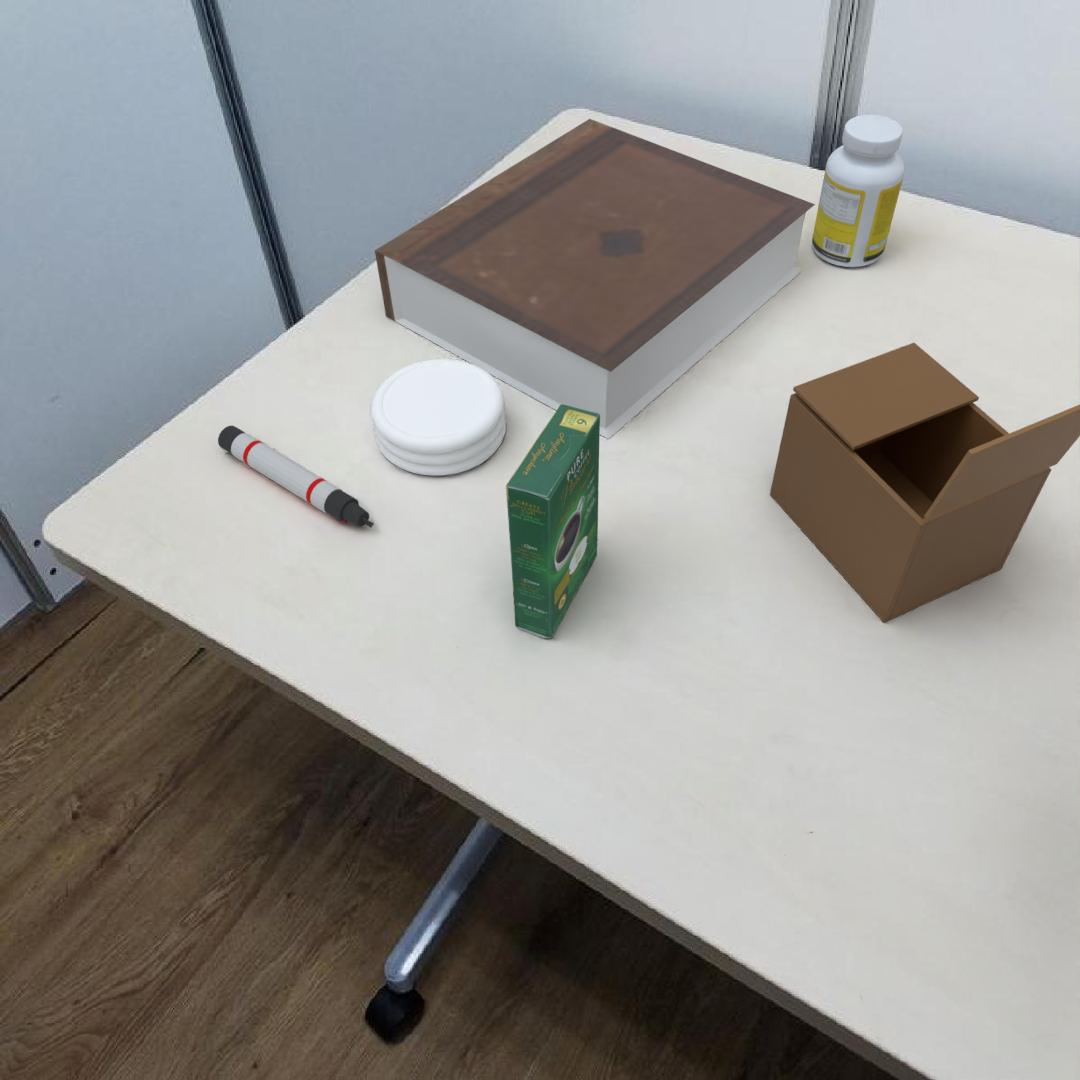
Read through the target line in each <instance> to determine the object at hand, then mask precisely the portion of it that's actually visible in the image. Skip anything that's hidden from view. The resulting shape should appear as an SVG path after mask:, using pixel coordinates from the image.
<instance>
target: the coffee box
mask: <svg viewBox="0 0 1080 1080" xmlns="http://www.w3.org/2000/svg"><path fill="white" fill-rule="evenodd" d="M599 433H600V414H598V413H594V412H590V411H586V410H582V409H578V408H575V407H571V406H567V405H563V404H561V405H560V406H559V407H558V409H557V410H555V411H554V413H553V414H552V416H551V418H550V419H549V420H548V422H547V424H546V425H545V427H544V428H543V429H542V431H541V433H540V434H539V436H538V437H537V438H536V440H535V441H534V443H533V444H532V446H531V448H530V449H529V450H528V452H527V453H526V455H525V456H524V458H523V459H522V461H521V462H520V464H519V465H518V467H517V468H516V469H515V471H514V473H513V475H512V476H511V477H510V479H509V481H508V482H507V483H506V485H505V491H506V493H505V494H506V505H507V518H508V533H509V534H508V535H509V548H510V565H511V578H512V597H513V612H514V626H515V628H517V629H519V630H520V631H524V632H526V633H530V634H531V635H533V636H537V637H539V638H543V639H552V638H553V636H554V634H555V632H556V631H557V628H558V627H559V625H560V624H561V622H562V621H563V619H564V617H565V615H566V612H567V611H568V609H569V607H570V604H571V603H572V601H573V599H574V598H575V596H576V594H577V593H578V590H579V589H580V587H581V586H582V584H583V581H584V579H586V577H587V575H588V572H589V571H590V569H591V567H592V565H593V564H594V561H595V559H596V558H597V556H598V540H599V539H598V534H599V533H598V532H599V530H598V529H599V486H600V484H599V481H600V480H599V479H600V477H599V476H600V474H599V473H600V434H599Z"/></svg>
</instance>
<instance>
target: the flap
mask: <svg viewBox="0 0 1080 1080" xmlns="http://www.w3.org/2000/svg"><path fill="white" fill-rule="evenodd" d="M1008 433H1009V434H1007V435H1004V436H1002V437H1000V438H997V439H995V440H992V441H990V442H987V443H985V444H983V445H980V446H978V447H975V448H973V449H970V450H969V451H968V452H967V454H966V455H965V456H964V458H963V459H962V461H961V462H960V464H959V465H958V467H957V468H956V470H955V471H954V473H953V474H952V476H951V477H950V479H949V480H948V482H947V483H946V484H945V486H944V487H943V489H942V490H941V492H940V493H939V495H938V496H937V498H936V499H935V501H934V502H933V504H932V505H931V507H930V508H929V509H928V511H927V512H926V514H925V515H924V517H925V518H926V519H927V520H928V519H930V518H933V517H935V516H937V515H940V514H942V513H944V512H947V511H949V510H951V509H954V508H956V507H958V506H961V505H963V504H965V503H968V502H970V501H972V500H975V499H977V498H979V497H982V496H984V495H986V494H989V493H991V492H993V491H996V490H998V489H1000V488H1003V487H1005V486H1007V485H1009V484H1012V483H1014V482H1016V481H1019V480H1021V479H1023V478H1026V477H1028V476H1030V475H1033V474H1035V473H1037V472H1040V471H1042V470H1044V469H1047V468H1051V467H1054V466H1057V465H1058V463H1059V462H1060V461H1061V460H1062V459H1063V457H1064V456H1065V455H1066V453H1068V451H1069V450H1070V449H1071V448H1072V446H1074V444H1075V443H1076V441H1077V440H1078V439H1079V438H1080V404H1077V405H1074V406H1073V407H1070V408H1068V409H1065V410H1063V411H1061V412H1058V413H1055V414H1053V415H1050V416H1047V417H1046V418H1043V419H1040V420H1038V421H1036V422H1034V423H1031V424H1028V425H1025V426H1024V427H1022V428H1019V429H1017V430H1015V431H1012V432H1008Z"/></svg>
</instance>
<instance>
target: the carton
mask: <svg viewBox="0 0 1080 1080" xmlns="http://www.w3.org/2000/svg"><path fill="white" fill-rule="evenodd" d="M792 391H793V392H794V393H792V394H790V397H789V400H788V401H789V402H788V406H787V410H786V415H785V420H784V425H783V430H782V433H781V434H782V435H781V439H780V444H779V447H778V454H777V459H776V463H775V467H774V472H773V478H772V482H771V487H770V491H769V496H770V497H771V498H772V499H773V500H774V501H775V502H776V503H777V504H778V505H779V507H780V508H781V509H782V510H783V511H784V512H785V513H786V514H787V516H789V518H790V519H791V520H792V521H793V522H794V523H795V525H796V526H797V527H798V528H799V529H800V530H801V531H802V532H803V534H804V535H805V536H806V537H807V538H808V539H809V540H810V541H811V543H812V544H813V545H814V546H815V547H816V548H817V549H818V550H819V551H820V553H821V554H822V555H823V556H824V557H825V558H826V560H828V562H829V563H830V564H831V566H833V567H834V568H835V569H836V571H837V572H838V573H839V574H840V575H841V576H842V578H843V579H844V580H845V581H846V582H847V583H848V585H850V586H851V588H852V589H853V590H854V591H855V592H856V593H857V594H858V596H860V597H861V599H862V600H863V601H864V602H865V604H867V605H868V606H869V608H870V609H871V610H872V612H874V613H875V615H876V616H877V617H878V618H879V619H880V620H881V621H882V622H883V623H886V622H889V621H891V620H893V619H895V618H897V617H899V616H901V615H904V614H906V613H908V612H910V611H912V610H914V609H917V608H919V607H922V606H923V605H925V604H928V603H930V602H932V601H934V600H936V599H938V598H941V597H943V596H945V595H948V594H950V593H951V592H954V591H956V590H957V589H960V588H962V587H964V586H967V585H969V584H971V583H973V582H976V581H978V580H981V579H982V578H984V577H986V576H990V575H991V574H993V573H996V572H997V571H1000V570H1002V569H1003V567H1004V565H1005V563H1006V561H1007V559H1008V557H1009V555H1010V553H1011V551H1012V549H1013V547H1014V545H1015V544H1016V541H1017V539H1018V537H1019V535H1020V533H1021V531H1022V530H1023V528H1024V525H1025V524H1026V522H1027V519H1028V517H1029V516H1030V514H1031V512H1032V510H1033V508H1034V506H1035V504H1036V502H1037V500H1038V498H1039V495H1040V494H1041V492H1042V490H1043V488H1044V485H1045V484H1046V481H1047V479H1048V478H1049V475H1050V473H1051V471H1052V468H1051V467H1049V468H1047V469H1044V470H1042V471H1040V472H1037V473H1035V474H1033V475H1030V476H1028V477H1026V478H1023V479H1021V480H1019V481H1016V482H1014V483H1012V484H1009V485H1007V486H1005V487H1003V488H1000V489H998V490H996V491H993V492H991V493H989V494H986V495H984V496H982V497H979V498H977V499H975V500H972V501H970V502H968V503H965V504H963V505H961V506H958V507H956V508H954V509H951V510H949V511H947V512H944V513H942V514H940V515H937V516H935V517H933V518H930V519H928V520H927V519H926V518H925V517H924V515H925V514H926V512H927V511H928V509H929V508H930V507H931V505H932V504H933V502H934V501H935V499H936V498H937V496H938V495H939V493H940V492H941V490H942V489H943V487H944V486H945V484H946V483H947V482H948V480H949V479H950V477H951V476H952V474H953V473H954V471H955V470H956V468H957V467H958V465H959V464H960V462H961V461H962V459H963V458H964V456H965V455H966V454H967V452H968V451H969V450H970V449H973V448H975V447H978V446H980V445H983V444H985V443H987V442H990V441H992V440H995V439H997V438H1000V437H1002V436H1004V435H1007V434H1009V433H1010V432H1009V431H1007V430H1006V429H1005V428H1004V427H1002V426H1001V425H1000V423H998V422H997V421H995V420H994V419H993V418H992V417H991V416H990V415H988V414H987V413H986V412H985V411H983V409H981V407H979V406H978V405H977V404H976V403H977V402H978V401H979V399H980V396H978V395H977V394H976V393H975V392H973V391H972V390H971V388H969V387H968V386H967V385H965V384H964V383H963V382H962V381H961V380H959V379H958V377H956V376H954V374H952V373H951V372H950V371H949V370H947V369H946V368H945V367H944V366H943V365H942V364H940V363H939V362H938V361H937V360H936V359H935V358H934V357H932V356H931V355H930V354H928V352H927V351H925V350H924V349H923V348H921V347H920V346H919V345H918V344H917V343H916V342H912V343H908V344H906V345H904V346H900V347H898V348H894V349H893V350H889V351H887V352H884V353H882V354H879V355H877V356H874V357H871V358H868V359H866V360H863V361H860V362H857V363H855V364H852V365H849V366H846V367H844V368H841V369H839V370H836V371H832V372H829V373H827V374H825V375H822V376H820V377H819V376H818V377H816V378H814V379H811V380H809V381H808V380H807V381H806V382H803V383H801V384H798V385H795V386H793V388H792Z"/></svg>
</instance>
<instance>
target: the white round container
mask: <svg viewBox="0 0 1080 1080" xmlns="http://www.w3.org/2000/svg"><path fill="white" fill-rule="evenodd" d="M505 402H506V401H505V394H504V392H503V390H502V387H501V385H500V383H499V382H498V380H497V378H496V377H495V376H493V375H491V374H490V373H488V372H487V371H485V370H484V369H482V368H480V367H478V366H476V365H473V364H472V363H470V362H468V361H463V360H458V359H453V358H434V359H426V360H421V361H418V362H414V363H411V364H408V365H406V366H403V367H401V368H400V369H397V370H396V371H394V372H393V373H391V374H390V375H388V377H386V378H385V379H384V380H383V381H382V382H381V383H380V384H379V385H378V387H377V388H376V390H375V391H374V393H373V396H372V399H371V402H370V403H371V404H370V410H369V413H370V419H371V422H372V429H373V432H374V437H375V443H376V445H377V447H378V448H379V450H380V452H381V453H382V455H383V456H384V457H385V458H386V459H387V460H388V461H389V462H390V463H391V464H392V465H394V466H396V467H397V468H399V469H402V470H404V471H407V472H410V473H413V474H416V475H422V476H449V475H450V476H451V475H454V474H459V473H463V472H465V471H468V470H471V469H473V468H475V467H477V466H479V465H481V464H482V463H484V462H485V461H487V460H488V459H489V458H491V456H493V455H494V454H495V452H496V451H498V449H499V448H500V446H501V444H502V442H503V439H504V437H505V434H506V430H507V419H506V407H505Z"/></svg>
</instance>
